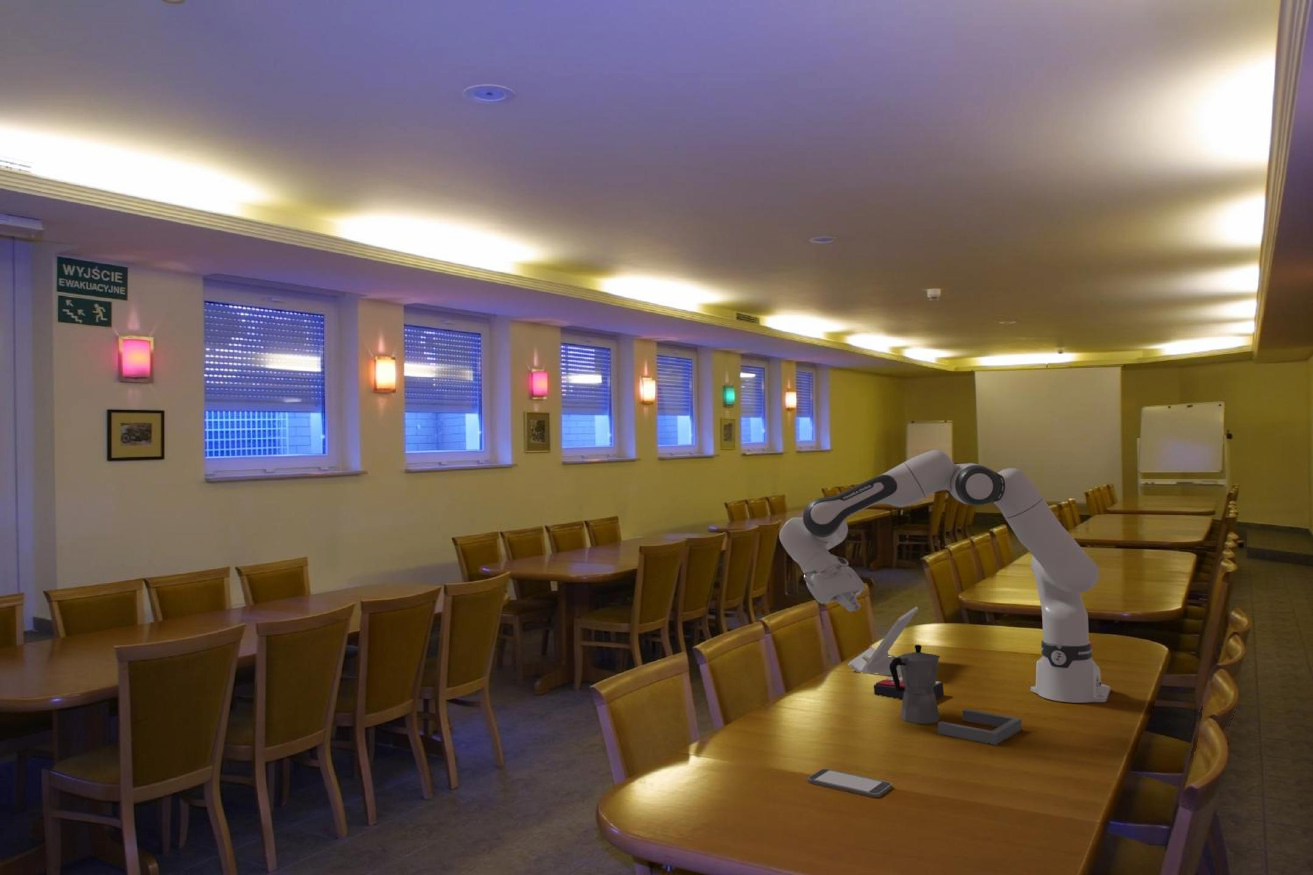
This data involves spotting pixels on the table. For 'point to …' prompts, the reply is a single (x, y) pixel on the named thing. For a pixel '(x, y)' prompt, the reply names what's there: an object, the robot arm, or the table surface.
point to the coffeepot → (917, 686)
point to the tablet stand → (882, 650)
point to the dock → (1004, 730)
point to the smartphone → (850, 782)
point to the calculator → (889, 688)
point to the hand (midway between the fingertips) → (855, 609)
